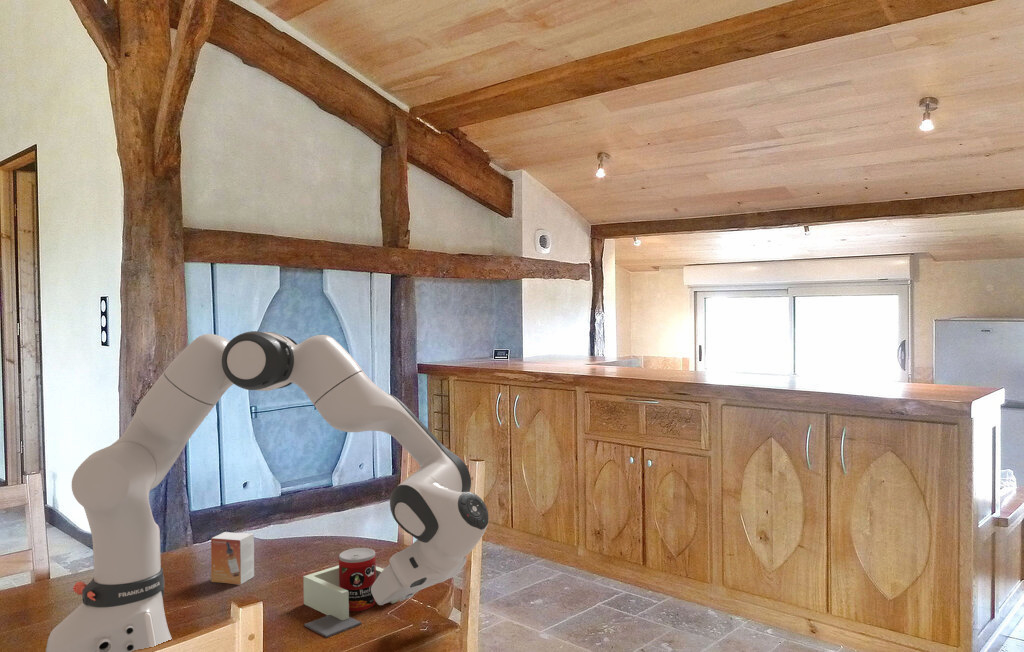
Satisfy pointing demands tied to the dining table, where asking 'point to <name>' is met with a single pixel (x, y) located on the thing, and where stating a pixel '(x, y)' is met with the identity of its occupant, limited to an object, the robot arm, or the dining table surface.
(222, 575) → the small box
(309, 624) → the mat
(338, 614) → the dock
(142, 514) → the robot arm
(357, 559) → the canned food
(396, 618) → the dining table surface
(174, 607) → the dining table surface
